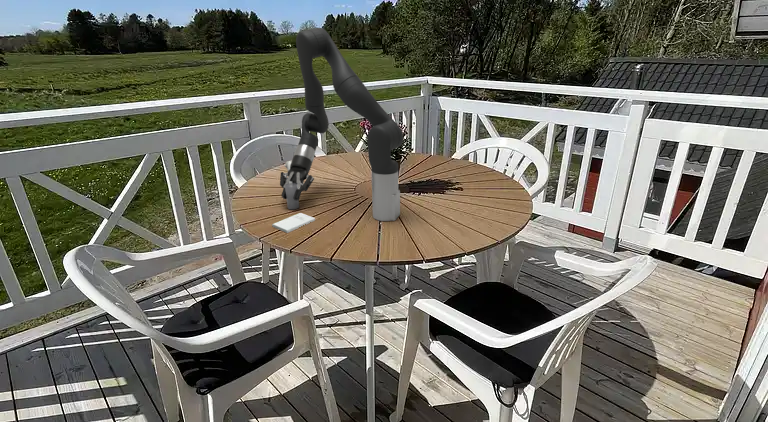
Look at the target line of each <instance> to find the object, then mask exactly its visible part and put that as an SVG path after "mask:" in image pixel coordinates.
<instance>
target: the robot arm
mask: <svg viewBox="0 0 768 422" xmlns="http://www.w3.org/2000/svg"><path fill="white" fill-rule="evenodd" d="M295 43H296V44H295V45H296V52H297V53H296V54H297V55H298V56H297V57H298V62H299V67H300V71H301V76H302V81H303V86H304V87H303V88H304V99H305V100H304V103H305V109H306V110H307V111H308V112H307V113H305V114H304V115H303V116H302V118H301V133H300V138H299V142H298V144H297V146H296V148H295V150H294V154H293V157H292V159H291V161H292V162H291V165H290V170H289V171H288V170H287V172H284V171H281V172H280V179H279V185H280V187H281V188H283V189H282V192H281V195H280V196H281V198H282V199H283V200H287V199H286V191H285V185H286V184H288V183H289V182H290V181H291V182H292V183H297V190H296V191H295V194H294V197H293V199H294V200H295V201H297V200H298V199H299V200H300V197H301V196H302V195H301V194H302V193H303V192H307V191H308V189H310V186H311V185H312V184H313V182H314V180H315V178H314V177H313V176H312V175H311V174H309V173H310V171H311V168H312V165H313V163H314V160H315V159H314V158H315V155H316V149H317V148H318V144H319V137H317V136H316V135H315V134H313V133H318V134H324V133H326V132H328V130H329V126H330V125H329V119H328V115H327V113H326V108H325V103H324V102H325V101H324V100H325V96H324V94H325V93H324V88H323V87H324V86H322V85H323V84H322V83H321V81H320V80H319V79H318V76H317V75H316V74H315V72H314V68H313V60H314V59H316V58H319V57H323V58H324V59H325V61H326V62H327V64H328V66H330V68H331V76H332V77H331V78H332V87H333V91H334V92H335V93H336V94H337V96H338V97H339V99H340V100H341V101H342V103H343V104H344V105H345V106H347V107H348V108H349V109H350V110H352V111H353V112H355V113H356V114H358V115H359V116H361V117H363V118H364V120H365V119H366V120H367V121H368V122H369V124H371V126H372V127H371V128H370V129H369V130H368V133H367V153H368V155H367V156H368V161H369V165H370V167H371V195H372V197H371V199H372V205H371V206H372V217H373V219H374V220H377V221H381V222H389V221H396V220H397V219H398V217H399V216H400V214H401V190H400V189H399V162H397V161H396V160H394V159H392V150H396V149H398V148H400V146H402V144H403V142H404V134H403V131H402V129H401V127H400V125H398V123H397V122H396V121H395V120H394V119H393V118H392V117H391V116H390V115H389V114H388V113H387V112H386V110H384V108H383V107H382V106H381V105H380V104H379V102H378V101H377V100H376V99H375V97H374V96H373V95H372V94H371V92H370V91H369V90H368V88H367V87H366V84H364V83H363V81H362V80H361V78H360V77H359V76H358V75H357V74H356V72H355V71H354V70H353V68H352V67H351V66H350V65H349V63H348V62H347V60H346V59H345V58H344V57H343V54H342V53H341V51H340V50H339V48H338V46H337V45H336V43H335V42H334V40H333V38H332V37H331V36H330V34H329V33H328V31H327V30H326V29H324V28H322V27H314V28H309V29H305V30H302V31H299V32H298V33H297V35H296V41H295ZM311 132H313V133H311ZM287 178H288V179H287ZM286 179H287V180H286Z"/></svg>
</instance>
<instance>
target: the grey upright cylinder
mask: <svg viewBox="0 0 768 422" xmlns="http://www.w3.org/2000/svg"><path fill="white" fill-rule="evenodd" d="M296 190H297V184H296V183H292V182H289V183H288V184H286V185H285V191H286V199H285V200H286V204H287V206H286V207H287V209H288V210H298V209H299V208H300V202H299V200H300V198H299V199H298V200H297V201H295V200H294V199H293V197H294V194H295V191H296Z"/></svg>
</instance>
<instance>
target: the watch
mask: <svg viewBox="0 0 768 422" xmlns="http://www.w3.org/2000/svg"><path fill="white" fill-rule="evenodd" d="M291 162H292V160H288V161H286V162H285V165H284V168H286V170H287V172H288V171H289V170H290V165H291ZM287 179H288V177H287ZM287 179H286V180H287ZM290 182H291V181H290ZM296 184H297V183H296Z"/></svg>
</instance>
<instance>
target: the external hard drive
mask: <svg viewBox="0 0 768 422" xmlns="http://www.w3.org/2000/svg"><path fill="white" fill-rule="evenodd" d="M315 221H316V218H315V217H313V216H310V215H307V214H305V213H302V212H299V213H297V214H294V215H291V216H288V217H286V218H284V219H282V220H280V221H277V222H274V223H272V224H271V226H272V228H275V229H277V230H279V231H282V232H284V233H286V234H289V233H291V232H293V231H294V230H297V229H299V227H300V228H301V226H302V227H304V226H306V225H309V224H310V222H311V223H313V222H315ZM305 224H306V225H305ZM303 225H304V226H303Z"/></svg>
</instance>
